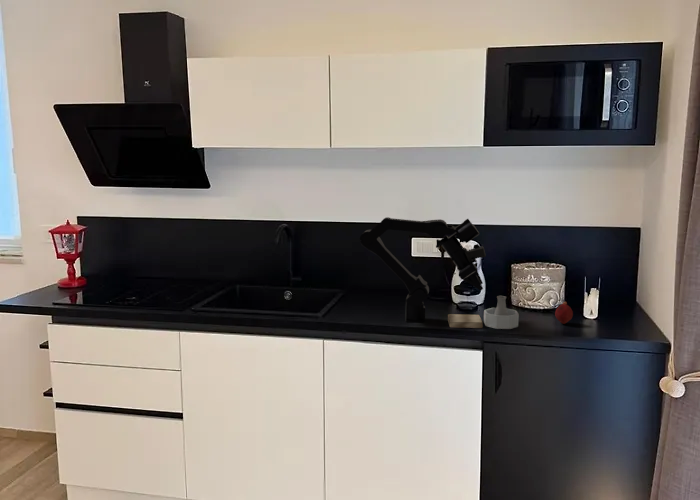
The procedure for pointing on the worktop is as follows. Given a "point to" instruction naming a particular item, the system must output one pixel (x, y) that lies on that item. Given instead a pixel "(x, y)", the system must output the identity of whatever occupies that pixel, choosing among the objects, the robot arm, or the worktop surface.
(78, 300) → the worktop surface
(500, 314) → the flask
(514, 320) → the collar
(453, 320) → the oak board
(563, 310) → the onion
